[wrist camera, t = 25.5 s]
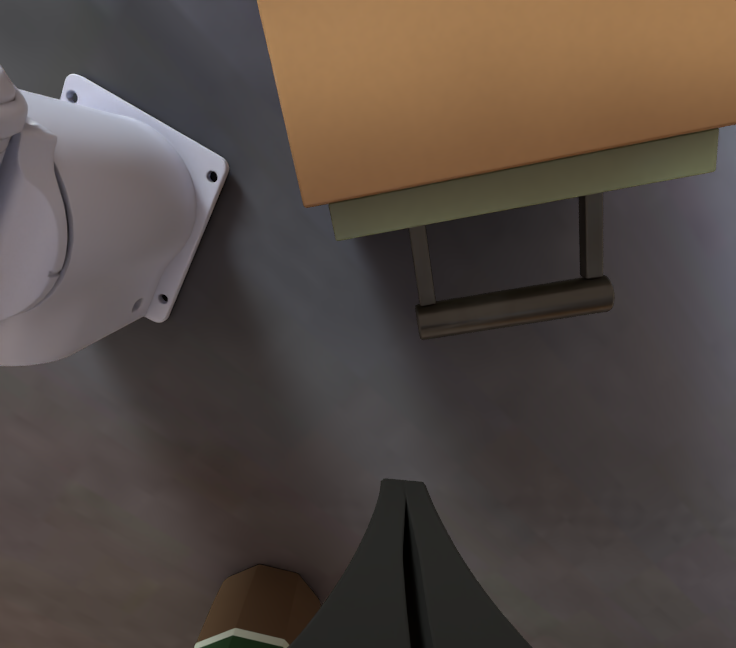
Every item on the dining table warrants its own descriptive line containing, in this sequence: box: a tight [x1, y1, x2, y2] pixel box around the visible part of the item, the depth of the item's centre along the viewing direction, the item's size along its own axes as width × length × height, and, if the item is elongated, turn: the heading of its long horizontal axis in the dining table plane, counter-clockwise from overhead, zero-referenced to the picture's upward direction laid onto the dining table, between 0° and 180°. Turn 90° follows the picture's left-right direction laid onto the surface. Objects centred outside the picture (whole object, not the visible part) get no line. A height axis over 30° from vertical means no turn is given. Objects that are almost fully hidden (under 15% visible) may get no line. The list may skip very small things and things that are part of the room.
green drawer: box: [329, 128, 719, 340], centre depth 14 cm, size 18×11×7 cm, turn 10°
